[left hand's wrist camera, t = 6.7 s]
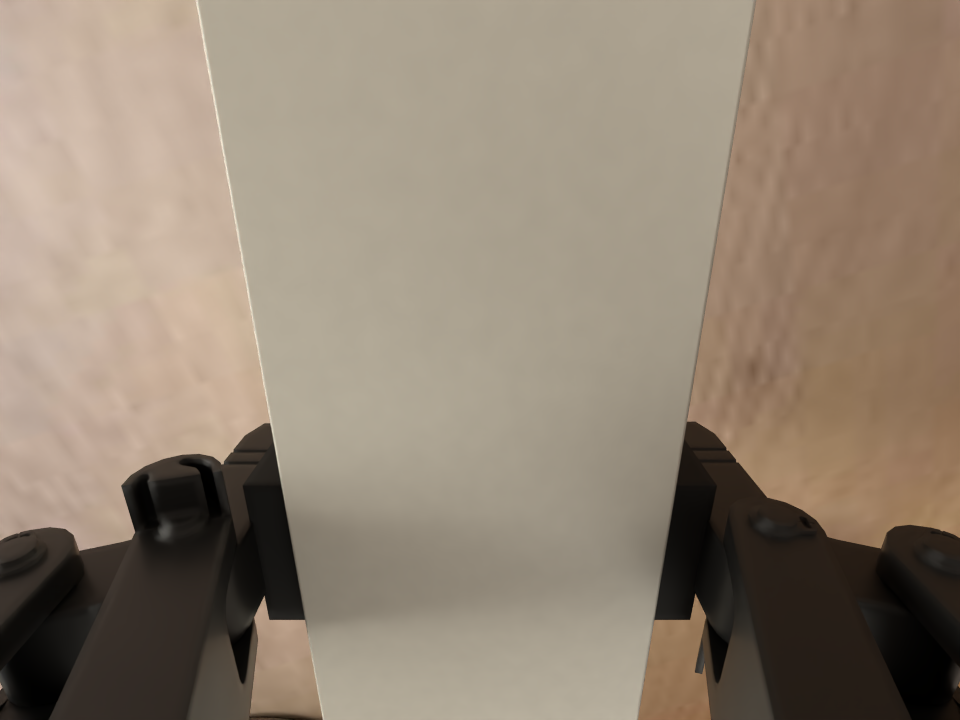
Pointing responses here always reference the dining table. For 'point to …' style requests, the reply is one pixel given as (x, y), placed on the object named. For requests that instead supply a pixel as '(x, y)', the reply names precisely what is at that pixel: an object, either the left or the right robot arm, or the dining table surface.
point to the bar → (477, 326)
